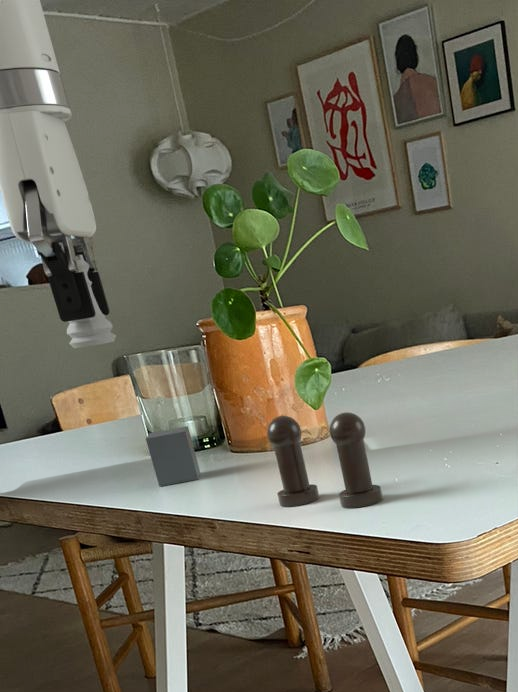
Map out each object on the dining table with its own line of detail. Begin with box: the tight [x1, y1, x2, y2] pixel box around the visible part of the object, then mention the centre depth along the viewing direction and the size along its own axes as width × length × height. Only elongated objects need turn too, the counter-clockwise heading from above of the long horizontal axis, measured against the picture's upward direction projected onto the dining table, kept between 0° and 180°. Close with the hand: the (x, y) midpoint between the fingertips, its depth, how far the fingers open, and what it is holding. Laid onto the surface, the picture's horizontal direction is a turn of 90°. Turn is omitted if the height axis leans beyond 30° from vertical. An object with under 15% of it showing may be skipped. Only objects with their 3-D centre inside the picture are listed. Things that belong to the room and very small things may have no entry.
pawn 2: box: [329, 411, 384, 509], centre depth 74 cm, size 3×3×7 cm
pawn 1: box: [266, 415, 320, 508], centre depth 78 cm, size 3×3×7 cm
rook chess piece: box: [66, 255, 117, 349], centre depth 89 cm, size 4×4×8 cm
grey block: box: [145, 425, 201, 487], centre depth 97 cm, size 4×4×5 cm
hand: (85, 316), depth 89 cm, fingers closed on rook chess piece, 3 cm apart
